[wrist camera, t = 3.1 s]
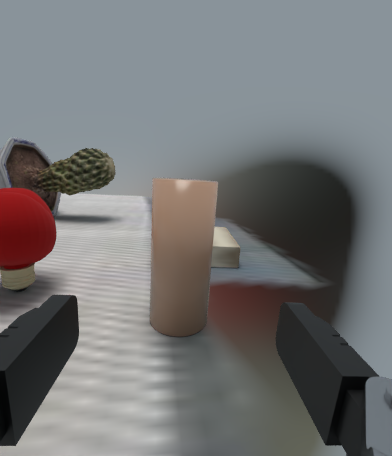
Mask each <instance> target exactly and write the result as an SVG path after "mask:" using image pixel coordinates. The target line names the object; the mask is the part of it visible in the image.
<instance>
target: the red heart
mask: <svg viewBox="0 0 392 456" xmlns="http://www.w3.org/2000/svg"><path fill="white" fill-rule="evenodd" d="M55 241H56V225H55V220H54V217H53V215H52V213H51V211H50V209H49V207H48V206H47V204H46V203H45V202H44V201H43V199H42V198H41V197H40V196H38V195H37V194H36V193H34V192H33V191H31V190H28V189H24V188H1V189H0V272H1V275H2V276H1V278H2V286H3V287H4V288H8V289H11V290H13V291H16V292H19V291H23V290H25V289H26V288H27V287H28V286H29V285H30V284H32V283H33V282H34V281H35V272H34V264H35V262H37V261H40V260H41V259H43V258H44V257H46V256H47V255H48V254H49V253H50V252H51V251H52V249H53V247H54V245H55Z"/></svg>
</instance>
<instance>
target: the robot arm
mask: <svg viewBox="0 0 392 456" xmlns="http://www.w3.org/2000/svg"><path fill="white" fill-rule="evenodd" d="M78 337H79V323H78V305H77V298H76V296H74V295H52V296H51V297H50V298H49V299H48V300H47V301H45V302H44V303H43V304H42V305H41V306H40V307H39V308H34V309H32V310H30V311H29V312H27V313H25V314H23V315H21V316H19V317H18V318H17V319H16V320H15V321H14V322H13V323H12V324H10V325H9V326H8V329H5V330H4V331H3V332H1V333H0V446H16V444H17V443H18V441H19V439H20V438H21V436H22V435H23V433H24V431H25V430H26V428H27V426H28V425H29V423H30V421H31V420H32V418H33V417H34V415H35V413H36V412H37V410H38V408H39V407H40V405H41V403H42V402H43V400H44V399H45V397H46V395H47V394H48V392H49V390H50V389H51V387H52V385H53V384H54V382H55V381H56V379H57V377H58V376H59V374H60V372H61V371H62V369H63V367H64V366H65V364H66V363H67V361H68V359H69V358H70V356H71V354H72V353H73V351H74V349H75V347H76V345H77V342H78ZM276 347H277V351H278V354H279V356H280V358H281V360H282V361H283V364H284V365H285V368H286V369H287V371H288V373H289V375H290V377H291V379H292V381H293V383H294V385H295V387H296V389H297V391H298V393H299V395H300V397H301V399H302V400H303V402H304V404H305V406H306V408H307V410H308V412H309V414H310V416H311V418H312V420H313V422H314V424H315V426H316V427H317V430H318V432H319V434H320V436H321V437H322V439H323V441H324V443H325V445H342V446H343V448H344V450H345V451H346V453H347V454H346V456H392V379H388V378H384V377H379V375H377V374H376V373H375V371H374V370H373V369H372V368H371V367H370V366H369V365H368V364H367V363H366V362H365V361H364V360H363V359H362V358H361V357H360V355H358V354H357V352H356V351H355V350H354V349H353V348H352V347H351V346H349V345H348V343H347V342H346V341H345V340H344V339H343V338H342V337H340V334H339V333H338V332H337V331H336V330H335V329H334V328H333V327H332V326H331V325H330V324H328V323H327V322H325V321H324V320H322V319H321V318H319V317H315V316H314V314H313V313H312V312H311V311H310V310H309V309H308V308H307V307H306V306H305V305H304V304H303V303H283V304H282V305H281V308H280V314H279V321H278V326H277V332H276Z"/></svg>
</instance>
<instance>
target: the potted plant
mask: <svg viewBox="0 0 392 456" xmlns="http://www.w3.org/2000/svg"><path fill="white" fill-rule="evenodd" d="M114 175H115V166H114V162H113V159H112V158H110V157H109V156H108V154H107V153H103V152H102V151H101V150H97V149H93V148H92V149H87V148H86V149H82V150H80V151H79V152H77V153H74V155H72V156H71V157H70V158H67V159H65V160H60V161H58V162H54V164H52V163H51V161H50V160H49V158H48V157H47V156H46V155H45V153H44V152H43V151H42V150H41V149H40V148H39V147H38V146H37V145H36V144H35V143H33V142H31V141H27V140H23V139H19V138H13V137H10V138H9V139H8V141H7V142H6V144H5V145H4V147H3V148H1V149H0V189H1V188H24V189H28V190H31V191H33V192H34V193H36V194H37V195H38V196H40V197H41V198H42V199H43V201H44V202H45V203H46V204H47V206H48V207H49V209H50V211H51V213H52V215H53V216H55V215H56V213H57V210H58V205H59V202H60V196H61V193H63V194H64V193H66V194H68V195H73V194H76V193H79V192H85V191H90V190H93V189H100V188H102V187H104V186H105V185H108V184H109V182H110V181H111V180H113V179H114Z"/></svg>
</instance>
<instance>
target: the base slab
mask: <svg viewBox="0 0 392 456" xmlns="http://www.w3.org/2000/svg"><path fill="white" fill-rule="evenodd" d="M239 255H240V246H239V245H238V244H237V242H236V241H235V240H234V238H233V237H232V235H231V234H230V233H229V231H228V230H227V229H226V227H214V238H213V250H212V262H211V267H225V268H238V264H239Z"/></svg>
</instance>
